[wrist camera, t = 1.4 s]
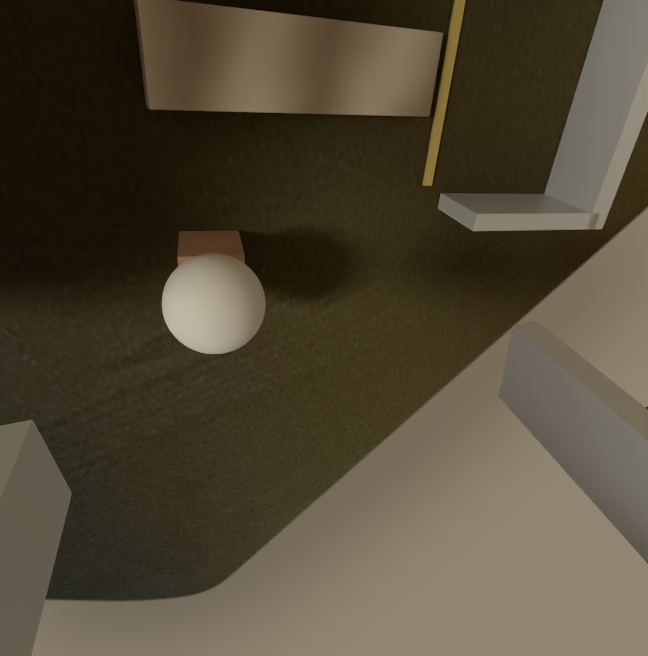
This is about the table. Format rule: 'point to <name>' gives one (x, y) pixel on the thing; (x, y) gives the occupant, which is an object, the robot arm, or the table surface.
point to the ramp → (281, 62)
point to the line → (443, 90)
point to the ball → (213, 303)
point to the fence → (581, 137)
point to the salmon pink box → (209, 244)
